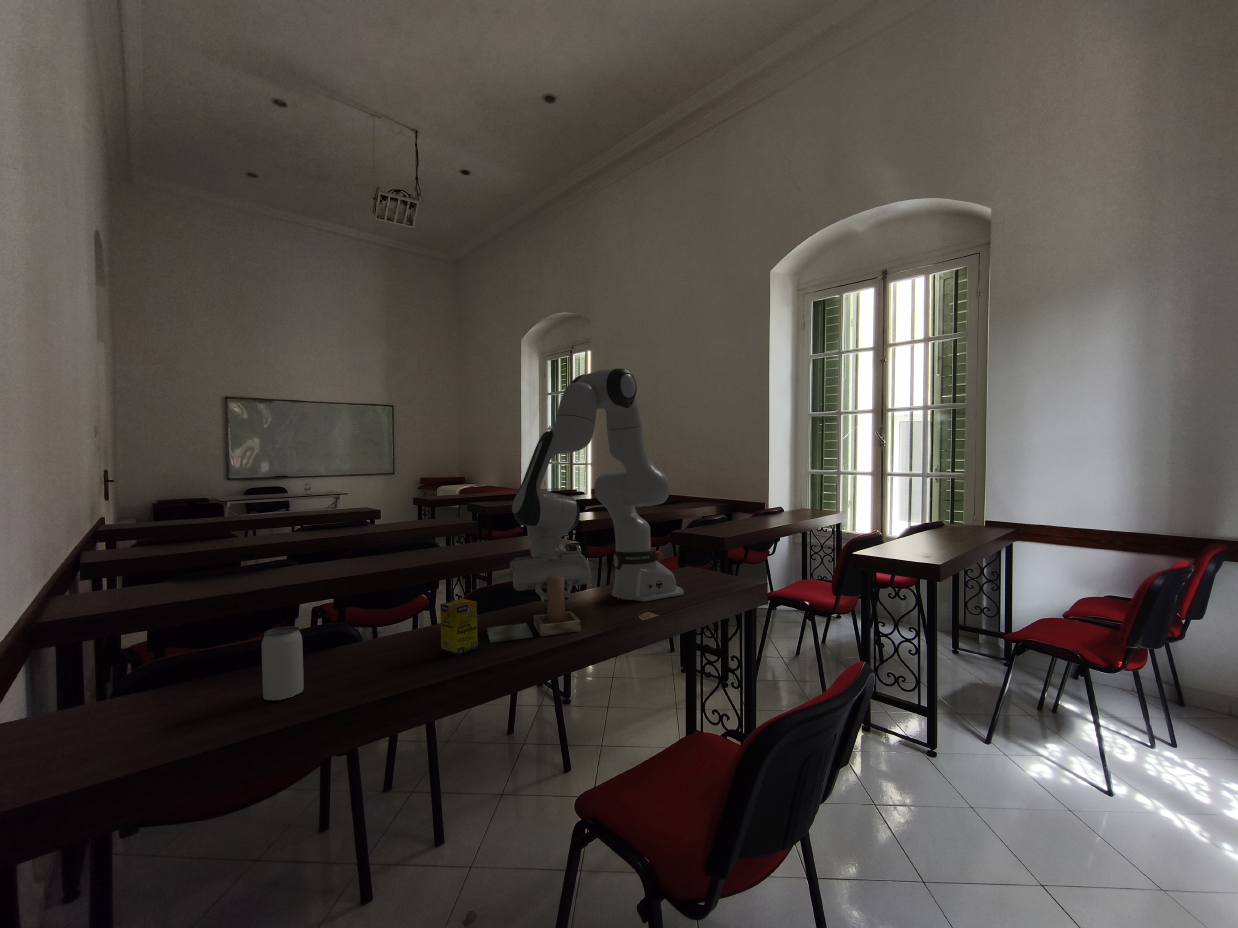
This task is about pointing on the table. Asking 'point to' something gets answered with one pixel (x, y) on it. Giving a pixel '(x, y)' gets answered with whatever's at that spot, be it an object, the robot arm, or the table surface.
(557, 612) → the terracotta peg
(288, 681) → the can
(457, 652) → the supplement box
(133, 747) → the table surface
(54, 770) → the table surface
